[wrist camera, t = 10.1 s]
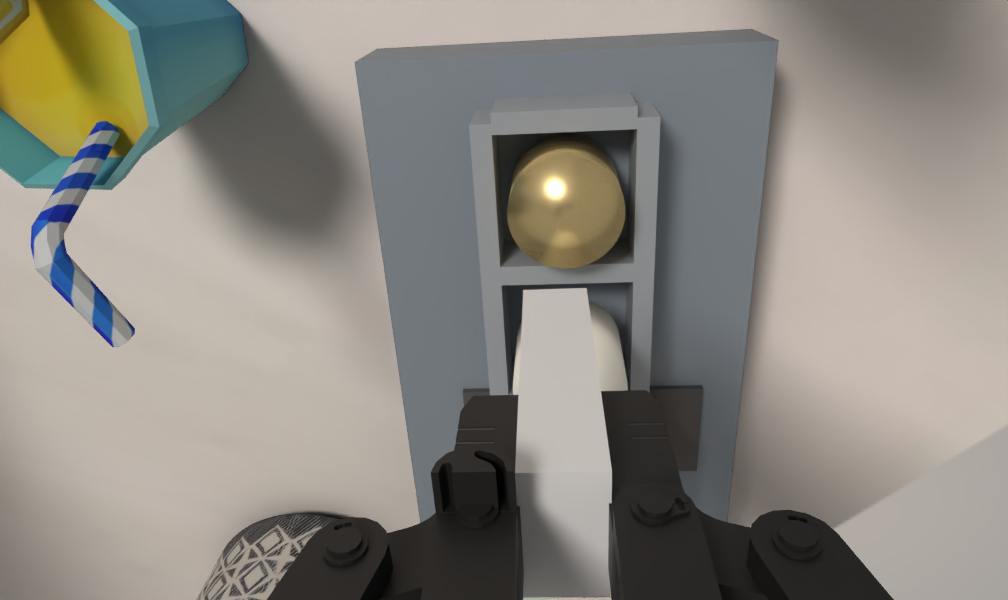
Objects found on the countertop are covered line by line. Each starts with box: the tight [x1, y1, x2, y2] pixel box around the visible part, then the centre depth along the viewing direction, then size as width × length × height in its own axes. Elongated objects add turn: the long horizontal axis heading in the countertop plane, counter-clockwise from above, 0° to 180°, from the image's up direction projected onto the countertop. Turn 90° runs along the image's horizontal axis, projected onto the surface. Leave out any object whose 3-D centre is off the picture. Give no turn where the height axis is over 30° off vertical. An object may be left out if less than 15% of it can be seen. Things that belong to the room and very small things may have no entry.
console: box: [355, 29, 779, 523], centre depth 34 cm, size 16×28×7 cm, turn 3°
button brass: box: [507, 133, 625, 269], centre depth 27 cm, size 4×4×4 cm
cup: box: [0, 0, 249, 347], centre depth 25 cm, size 14×8×15 cm, turn 23°
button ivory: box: [513, 300, 628, 395], centre depth 28 cm, size 4×4×4 cm
